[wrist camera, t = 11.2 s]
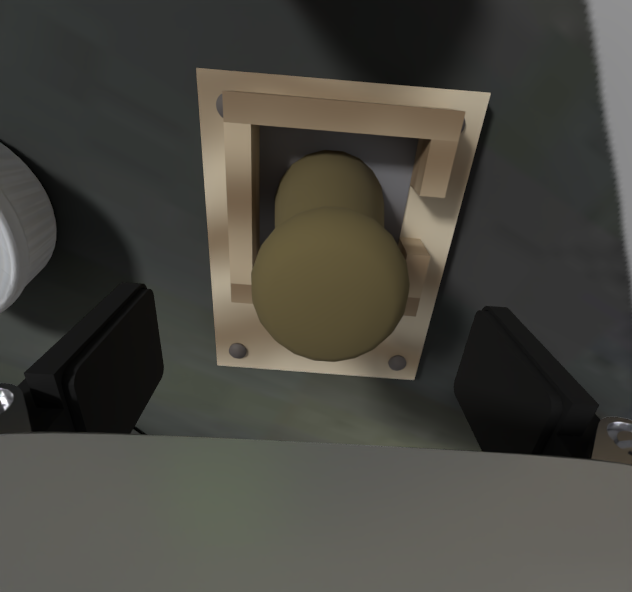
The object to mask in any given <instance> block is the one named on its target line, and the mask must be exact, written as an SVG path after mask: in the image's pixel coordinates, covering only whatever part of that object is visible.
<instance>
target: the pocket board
mask: <svg viewBox="0 0 632 592" xmlns="http://www.w3.org/2000/svg"><path fill="white" fill-rule="evenodd" d="M196 72H197V86H198V100H199V114H200V128H201V142H202V156H203V170H204V184H205V198H206V212H207V226H208V240H209V253H210V267H211V281H212V295H213V309H214V323H215V337H216V351H217V365H220V366H233V367H247V368H260V369H273V370H286V371H300V372H313V373H326V374H340V375H353V376H366V377H379V378H393V379H406V380H414V379H415V375H416V372H417V368H418V364H419V360H420V357H421V353H422V349H423V345H424V342H425V338H426V334H427V330H428V327H429V323H430V319H431V315H432V312H433V308H434V304H435V300H436V297H437V293H438V289H439V285H440V282H441V278H442V274H443V270H444V267H445V263H446V259H447V256H448V252H449V248H450V244H451V241H452V237H453V233H454V229H455V226H456V222H457V218H458V214H459V211H460V207H461V203H462V199H463V196H464V192H465V188H466V184H467V181H468V177H469V173H470V169H471V166H472V162H473V158H474V154H475V151H476V147H477V143H478V139H479V136H480V132H481V128H482V124H483V121H484V117H485V113H486V109H487V106H488V102H489V98H490V94H491V93H486V92H474V91H462V90H450V89H439V88H427V87H415V86H403V85H391V84H380V83H368V82H356V81H344V80H332V79H321V78H309V77H297V76H285V75H273V74H262V73H250V72H238V71H226V70H215V69H203V68H196ZM322 150H333V151H344V152H346V153H348V154H351V155H353V156H355V157H357V158H360V159H361V160H362V161H363V162H364V163H365V164H366V165H367V166H368V167H369V168H371V169H372V170H373V172H374V174H375V175H376V177H377V179H378V181H379V183H380V185H381V187H382V193H383V199H384V228H385V229H386V230H387V231H388V232H389V233H390V234H392V236H393V238H394V240H395V241H396V243H397V245H398V247H399V249H400V250H401V252H402V254H403V256H404V258H405V260H406V262H407V269H408V276H409V282H410V287H409V295H408V299H407V304H406V308H405V313H404V315H403V317H402V318H401V320H400V322H399V323H398V325H397V327H396V328H395V330H394V331H393V333H392V334H391V335H390V336H389V337H387V338H386V339H385V340H384V341H383V342H382V343H380V344H379V345H378V346H377V347H376V348H375V349H374V350H372V351H370V352H367V353H365V354H363V355H361V356H359V357H357V358H354V359H349V360H343V361H337V362H327V361H314V360H311V359H308V358H305V357H302V356H299V355H296V354H294V353H292V352H291V351H289V350H288V349H286V348H285V347H283V346H282V345H280V344H279V343H277V342H276V341H275V340H274V339H273V338H272V336H271V335H270V334H269V333H268V331H267V330H266V329H265V328H264V327H263V325H262V324H261V323H260V321H259V318H258V316H257V313H256V310H255V308H254V305H253V302H252V290H251V272H252V269H253V266H254V263H255V261H256V258H257V255H258V252H259V250H260V248H261V245H262V244H263V243H264V241H265V240H266V239H267V238H268V236H269V235H270V234H271V233H272V231H273V230H274V229H275V194H276V191H277V188H278V185H279V182H280V179H281V178H282V176H283V175H284V174H285V172H286V171H287V170H288V169H289V167H290V166H291V165H292V164H293V163H295V162H296V161H298V160H299V159H301V158H302V157H304V156H305V155H307V154H311V153H314V152H318V151H322Z"/></svg>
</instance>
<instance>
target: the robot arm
mask: <svg viewBox="0 0 632 592" xmlns="http://www.w3.org/2000/svg"><path fill="white" fill-rule="evenodd" d="M163 370H164V365H163V358H162V351H161V344H160V337H159V329H158V322H157V315H156V308H155V301H154V295H153V291H152V290H151V289H147V287H146V285H145V284H138V283H123V282H122V283H121V284H119V285H118V286H117V287H116V288H115V289H114V290H113V291H112V292H111V293H110V294H109V295H108V296H107V297H105V298H104V299H103V300H102V301H101V302H100V303H99V304H98V305H97V306H96V307H95V308H94V309H92V310H91V311H90V312H89V313H88V314H87V315H86V316H85V317H84V318H83V319H82V320H81V321H80V322H78V323H77V324H76V325H75V326H74V327H73V328H72V329H71V330H70V331H69V332H68V333H67V334H65V335H64V336H63V337H62V338H61V339H60V340H59V341H58V342H57V343H56V344H55V345H54V346H53V347H51V348H50V349H49V350H48V351H47V352H46V353H45V354H44V355H43V356H42V357H41V358H40V359H38V360H37V361H36V362H35V363H34V364H33V365H32V366H31V367H30V368H29V369H28V370H27V371H26V372H24V375H25V379H24V380H23V381H22V382H21V383H20V384H19V385H18V386H15V385H13V384H7V383H0V592H632V420H630V419H626V418H621V417H606V418H603V419H601V420H600V419H599V418H598V417H597V416H596V414H595V412H596V410H597V408H598V407H599V404H598V403H597V402H596V401H595V400H594V399H593V398H592V397H591V396H590V395H589V394H588V393H587V392H586V391H585V389H584V388H583V387H582V386H581V385H580V384H579V383H578V382H577V381H576V380H575V379H574V378H573V377H572V376H571V375H570V374H569V373H568V371H567V370H566V369H565V368H564V367H563V366H562V365H561V364H560V363H559V362H558V361H557V360H556V359H555V358H554V357H553V356H552V354H551V353H550V352H549V351H548V350H547V349H546V348H545V347H544V346H543V345H542V344H541V343H540V342H539V341H538V340H537V339H536V337H535V336H534V335H533V334H532V333H531V332H530V331H529V330H528V329H527V328H526V327H525V326H524V325H523V324H522V323H521V322H520V320H519V319H518V318H517V317H516V316H515V315H514V314H513V313H512V312H511V311H510V310H509V309H508V308H507V307H492V306H485V307H484V308H483V309H482V311H480V310H479V311H477V313H476V315H475V318H474V321H473V324H472V327H471V330H470V334H469V337H468V340H467V343H466V346H465V350H464V353H463V356H462V359H461V362H460V366H459V369H458V372H457V375H456V378H455V382H454V393H455V396H456V398H457V400H458V402H459V404H460V406H461V408H462V410H463V412H464V414H465V416H466V419H467V421H468V423H469V425H470V427H471V429H472V431H473V433H474V435H475V437H476V439H477V441H478V443H479V446H480V448H481V450H482V451H465V450H447V449H429V448H409V447H389V446H370V445H350V444H331V443H310V442H290V441H270V440H251V439H231V438H211V437H189V436H167V435H145V434H140V433H138V432H137V431H135V430H134V429H133V428H134V426H135V425H136V423H137V421H138V419H139V417H140V416H141V414H142V412H143V410H144V408H145V407H146V405H147V403H148V401H149V400H150V398H151V396H152V394H153V392H154V391H155V389H156V387H157V385H158V383H159V382H160V380H161V378H162V375H163Z"/></svg>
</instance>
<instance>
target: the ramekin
mask: <svg viewBox="0 0 632 592" xmlns="http://www.w3.org/2000/svg"><path fill="white" fill-rule="evenodd" d="M56 231H57V229H56V220H55V216H54V211H53V208H52V205H51V203H50V200H49V198H48V196H47V194H46V192H45V190H44V188H43V186H42V185H41V183H40V182H39V180H38V178H37V177H36V176H35V175H34V174H33V172H32V171H31V170H30V168H29V167H28V166H27V165H26V164H25V163H24V162H23V161H22V160H21V159H20V158H19V157H18V156H17V155H15V154H14V153H13V152H12V151H11V150H10V149H9V148H7V147H6V146H4V145H3V144H2V143H0V313H1V312H3V311H4V310H6V309H7V308H8V307H10V306H11V305H12V304H13V303H14V302H15V301H16V299H17V298H18V297H19V296H20V294H21V292H22V291H23V289H24V287H25V286H26V285H27V284H28V283H29V282H30V281H31V280H32V279H33V278H34V277H35V276H36V275H37V274H38V273H39V272H40V271H41V270H42V269H43V268H44V267H45V266H46V265H47V263H48V261H49V259H50V258H51V256H52V253H53V250H54V248H55V242H56Z"/></svg>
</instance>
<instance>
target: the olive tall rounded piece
mask: <svg viewBox="0 0 632 592" xmlns="http://www.w3.org/2000/svg"><path fill="white" fill-rule="evenodd" d="M409 287H410V282H409V276H408V269H407V262H406V260H405V258H404V256H403V254H402V252H401V250H400V249H399V247H398V245H397V243H396V241H395V240H394V238H393V236H392V234H390V233H389V232H388V231H387V230H386V229H385V228H384V199H383V193H382V187H381V185H380V183H379V181H378V179H377V177H376V175H375V174H374V172H373V170H372V169H371V168H369V167H368V166H367V165H366V164H365V163H364V162H363V161H362V160H361V159H360V158H357V157H355V156H353V155H351V154H348V153H346V152H344V151H333V150H322V151H318V152H314V153H311V154H307V155H305V156H304V157H302V158H301V159H299V160H298V161H296V162H295V163H293V164H292V165H291V166H290V167H289V169H288V170H287V171H286V172H285V174H284V175H283V176H282V178H281V179H280V182H279V185H278V188H277V191H276V194H275V229H274V230H273V231H272V233H271V234H270V235H269V236H268V238H267V239H266V240H265V241H264V243H263V244H262V245H261V248H260V250H259V252H258V255H257V258H256V261H255V263H254V266H253V269H252V272H251V290H252V302H253V305H254V308H255V310H256V313H257V316H258V318H259V321H260V323H261V324H262V325H263V327H264V328H265V329H266V330H267V331H268V333H269V334H270V335H271V336H272V338H273V339H274V340H275V341H276V342H277V343H279V344H280V345H282V346H283V347H285V348H286V349H288V350H289V351H291V352H292V353H294V354H296V355H299V356H302V357H305V358H308V359H311V360H314V361H327V362H337V361H343V360H349V359H354V358H357V357H359V356H361V355H363V354H365V353H367V352H370V351H372V350H374V349H375V348H376V347H377V346H378V345H379V344H380V343H382V342H383V341H384V340H385V339H386V338H387V337H389V336H390V335H391V334H392V333H393V331H394V330H395V328H396V327H397V325H398V323H399V322H400V320H401V318H402V317H403V315H404V313H405V308H406V304H407V299H408V295H409Z"/></svg>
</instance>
